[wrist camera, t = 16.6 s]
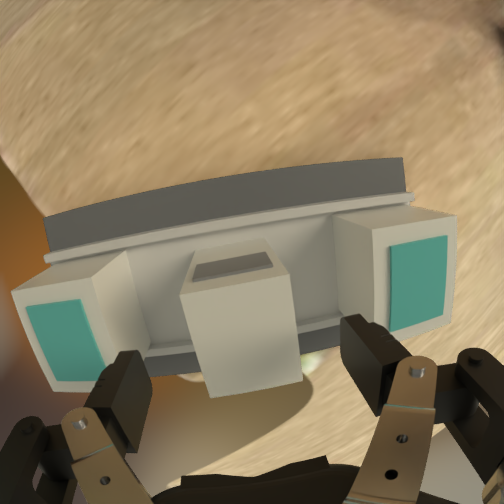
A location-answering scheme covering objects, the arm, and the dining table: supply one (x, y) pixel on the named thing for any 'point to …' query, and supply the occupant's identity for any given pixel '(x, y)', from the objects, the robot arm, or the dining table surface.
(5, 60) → the dining table surface
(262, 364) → the loose module
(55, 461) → the robot arm
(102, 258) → the board
